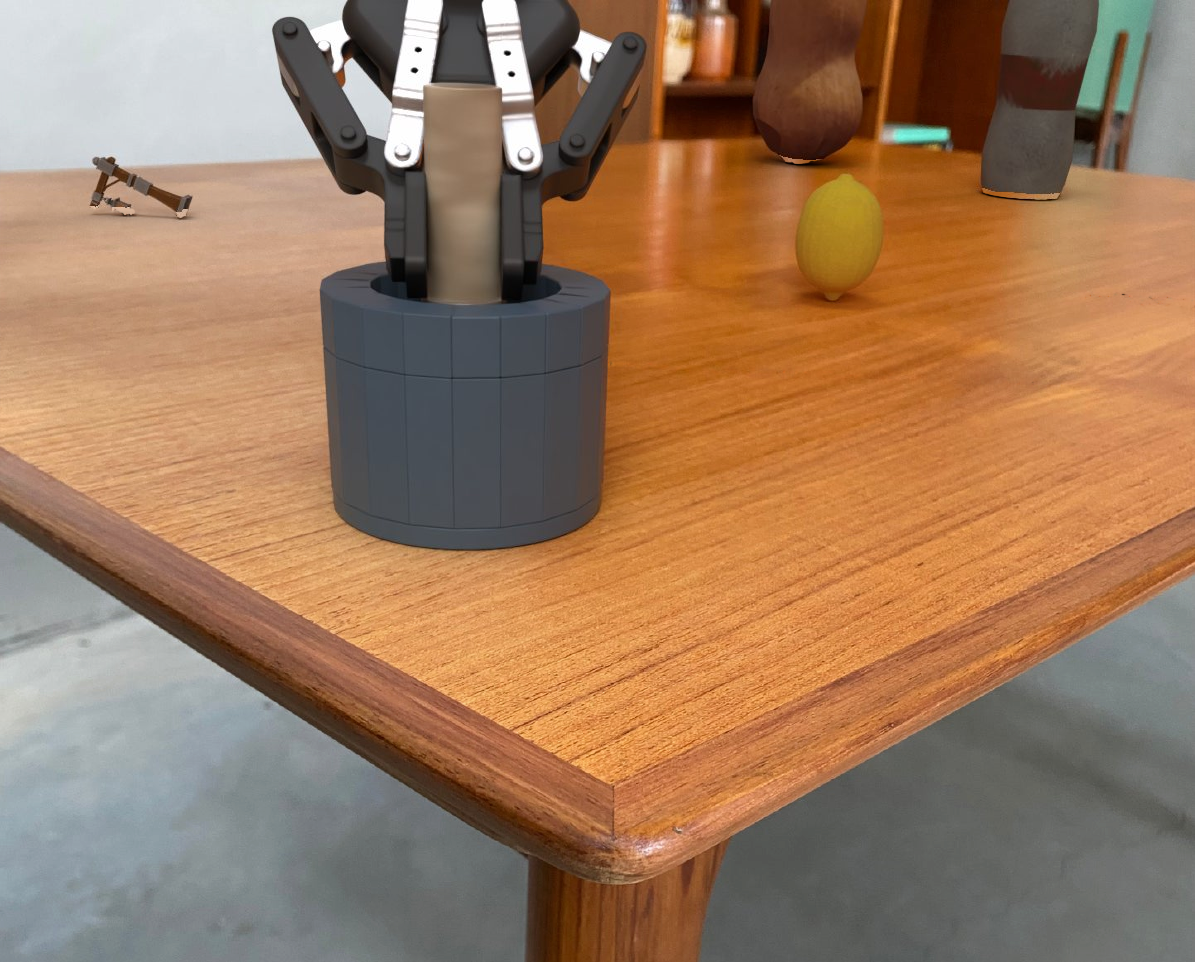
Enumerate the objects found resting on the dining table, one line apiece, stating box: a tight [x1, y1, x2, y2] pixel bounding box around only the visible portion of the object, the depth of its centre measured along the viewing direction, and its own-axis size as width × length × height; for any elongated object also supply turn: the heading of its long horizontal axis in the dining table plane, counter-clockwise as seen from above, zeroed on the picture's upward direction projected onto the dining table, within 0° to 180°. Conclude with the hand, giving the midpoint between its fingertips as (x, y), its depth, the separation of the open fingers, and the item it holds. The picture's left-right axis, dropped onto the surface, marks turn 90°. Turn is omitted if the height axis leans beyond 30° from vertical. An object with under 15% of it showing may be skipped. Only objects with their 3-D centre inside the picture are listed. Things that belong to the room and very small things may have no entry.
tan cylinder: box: [421, 83, 507, 305], centre depth 43 cm, size 4×4×12 cm
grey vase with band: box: [980, 0, 1100, 194], centre depth 129 cm, size 9×9×30 cm
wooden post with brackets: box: [89, 156, 194, 213], centre depth 102 cm, size 2×8×4 cm, turn 89°
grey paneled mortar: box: [319, 260, 612, 551], centre depth 45 cm, size 10×10×8 cm
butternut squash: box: [752, 0, 868, 160], centre depth 152 cm, size 14×13×25 cm
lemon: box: [794, 172, 884, 302], centre depth 80 cm, size 6×6×8 cm
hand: (465, 284), depth 42 cm, fingers closed on tan cylinder, 2 cm apart
